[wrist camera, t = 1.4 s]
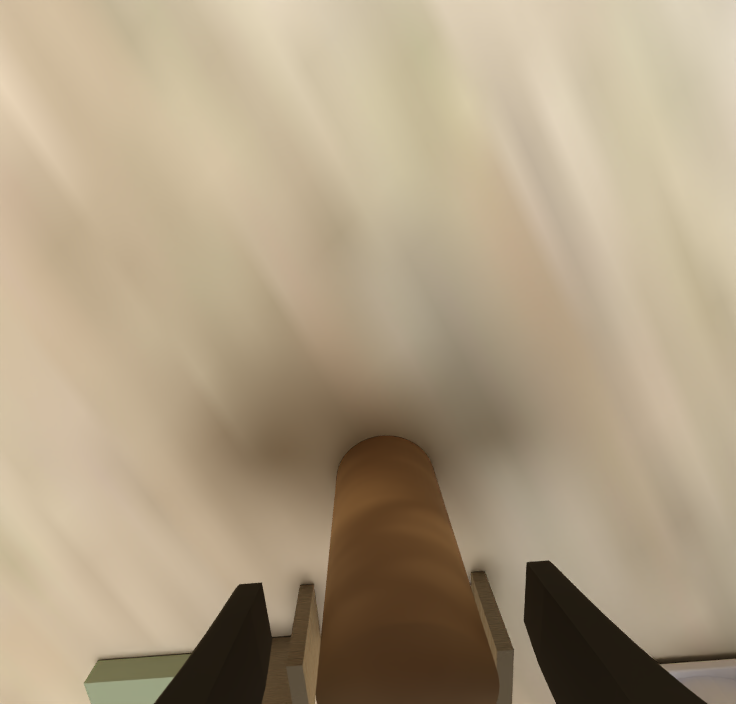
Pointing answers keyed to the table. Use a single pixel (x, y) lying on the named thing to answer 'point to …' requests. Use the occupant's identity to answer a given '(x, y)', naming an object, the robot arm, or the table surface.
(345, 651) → the peg
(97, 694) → the end pad
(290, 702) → the walled course
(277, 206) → the table surface
